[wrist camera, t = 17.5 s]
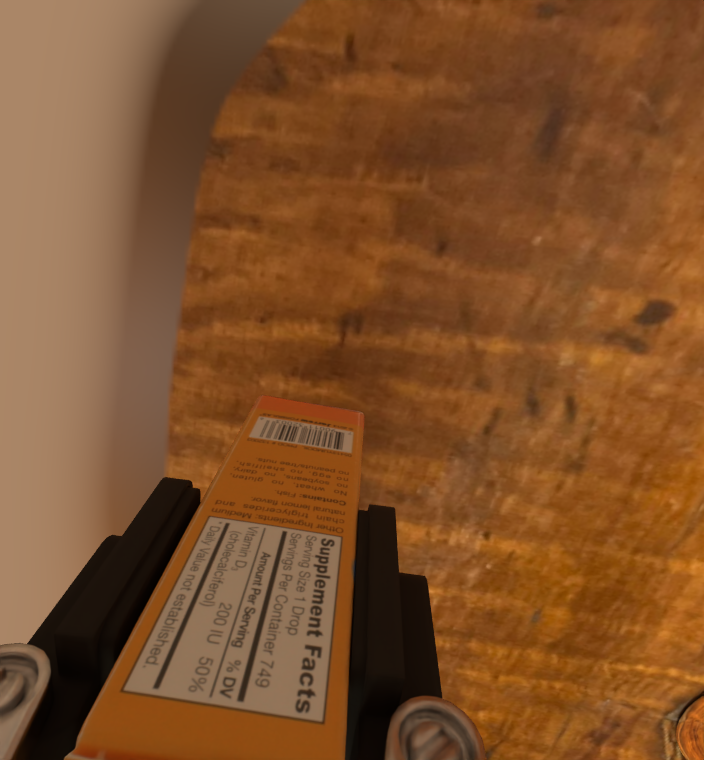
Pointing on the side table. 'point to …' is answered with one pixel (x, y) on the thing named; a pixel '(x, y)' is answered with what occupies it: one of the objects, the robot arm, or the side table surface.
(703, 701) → the wood grain tumbler
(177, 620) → the supplement box
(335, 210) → the side table surface
